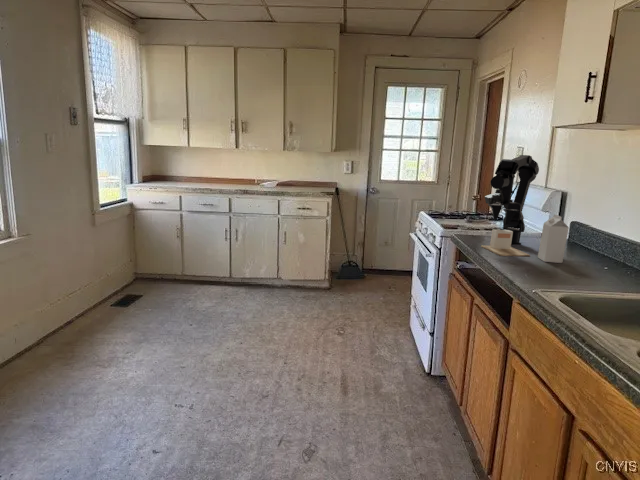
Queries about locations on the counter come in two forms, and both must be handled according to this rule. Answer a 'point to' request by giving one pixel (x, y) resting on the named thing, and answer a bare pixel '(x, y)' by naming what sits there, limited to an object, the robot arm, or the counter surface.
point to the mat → (506, 251)
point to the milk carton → (553, 240)
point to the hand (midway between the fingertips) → (500, 222)
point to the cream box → (501, 239)
